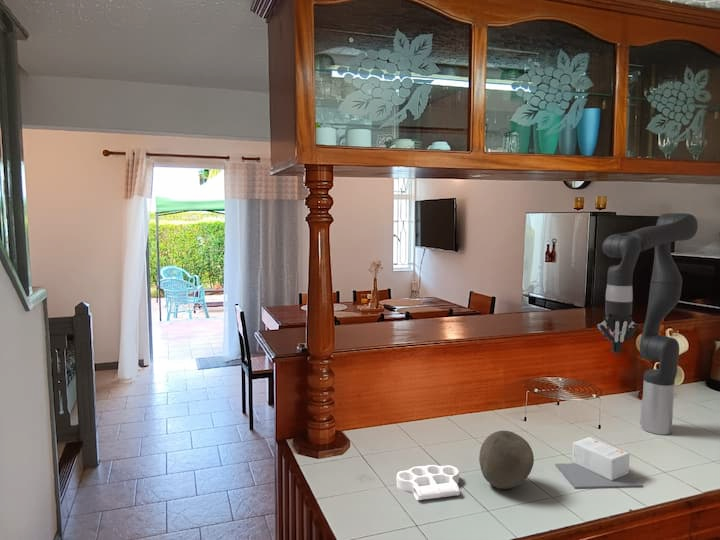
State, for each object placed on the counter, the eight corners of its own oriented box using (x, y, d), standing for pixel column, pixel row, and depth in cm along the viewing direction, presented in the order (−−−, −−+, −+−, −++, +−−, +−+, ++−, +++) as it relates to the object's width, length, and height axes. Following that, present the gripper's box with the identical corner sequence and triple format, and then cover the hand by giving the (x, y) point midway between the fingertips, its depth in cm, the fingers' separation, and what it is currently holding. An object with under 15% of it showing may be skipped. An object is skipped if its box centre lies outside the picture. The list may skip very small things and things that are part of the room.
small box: (571, 462, 153) (611, 481, 141) (572, 442, 152) (612, 459, 141) (589, 456, 157) (629, 474, 145) (590, 436, 156) (630, 452, 145)
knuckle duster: (406, 505, 132) (391, 477, 146) (470, 497, 136) (450, 470, 150) (406, 493, 132) (391, 466, 146) (471, 485, 135) (450, 459, 150)
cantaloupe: (504, 504, 131) (505, 449, 130) (468, 480, 144) (469, 429, 142) (543, 490, 138) (544, 438, 136) (506, 468, 150) (507, 419, 149)
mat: (555, 465, 152) (555, 463, 152) (617, 463, 152) (617, 462, 152) (574, 488, 139) (574, 486, 139) (642, 486, 139) (642, 485, 139)
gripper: (604, 301, 155) (601, 356, 157) (646, 300, 155) (643, 355, 157) (592, 297, 162) (590, 350, 164) (632, 296, 163) (630, 349, 164)
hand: (616, 352), depth 160 cm, fingers closed
